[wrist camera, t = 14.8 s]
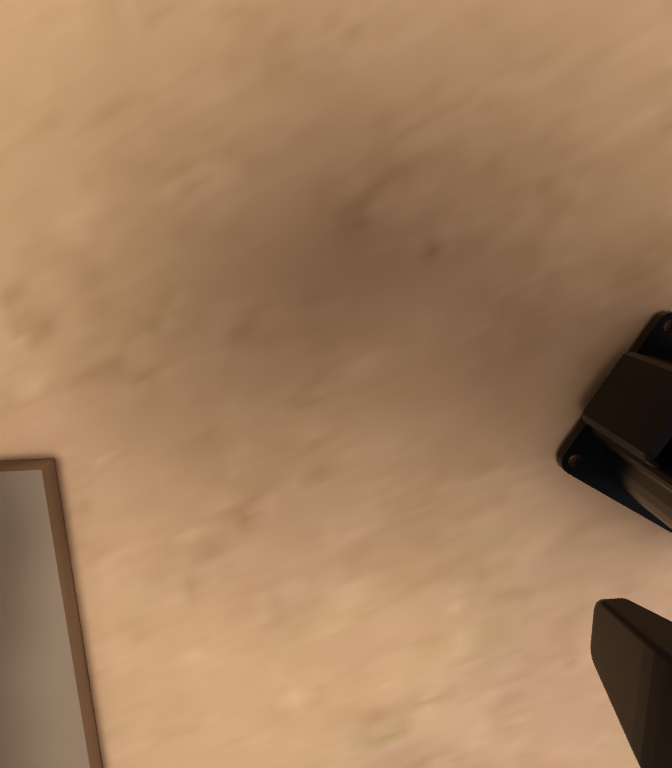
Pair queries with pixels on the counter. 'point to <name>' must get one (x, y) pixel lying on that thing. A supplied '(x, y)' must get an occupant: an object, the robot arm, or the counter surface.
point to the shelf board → (40, 629)
